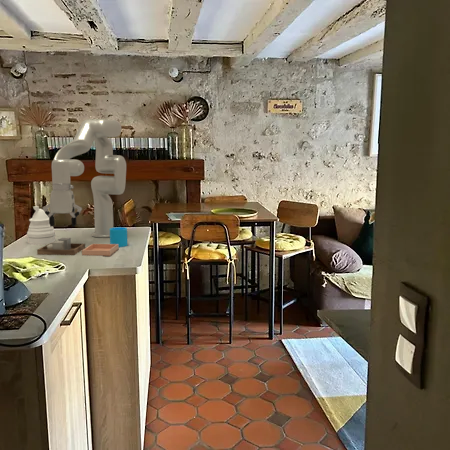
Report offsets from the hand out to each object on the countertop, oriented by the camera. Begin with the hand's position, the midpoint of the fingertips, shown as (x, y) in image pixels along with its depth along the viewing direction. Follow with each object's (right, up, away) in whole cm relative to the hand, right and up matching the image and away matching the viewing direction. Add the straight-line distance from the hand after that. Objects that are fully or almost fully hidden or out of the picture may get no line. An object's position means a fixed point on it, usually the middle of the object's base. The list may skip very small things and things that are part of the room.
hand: (63, 226), depth 202 cm
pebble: (-5, -11, -1) cm, 12 cm away
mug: (+22, -9, +16) cm, 28 cm away
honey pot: (-17, -8, +19) cm, 27 cm away
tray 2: (+17, -12, -2) cm, 21 cm away
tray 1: (0, -12, -1) cm, 12 cm away
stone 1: (0, -12, -5) cm, 13 cm away
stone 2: (0, -11, +2) cm, 11 cm away
